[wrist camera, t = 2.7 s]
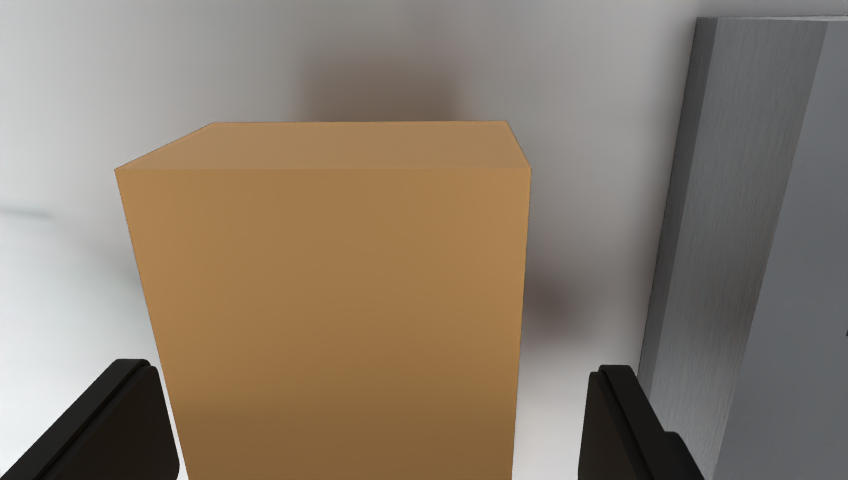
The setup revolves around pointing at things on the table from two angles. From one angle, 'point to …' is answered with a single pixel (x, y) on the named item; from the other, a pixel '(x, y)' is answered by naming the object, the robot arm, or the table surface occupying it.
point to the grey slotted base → (757, 254)
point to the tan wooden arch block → (336, 296)
